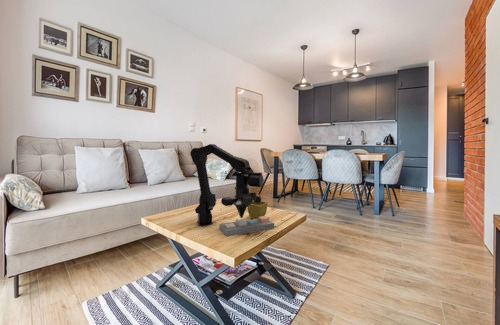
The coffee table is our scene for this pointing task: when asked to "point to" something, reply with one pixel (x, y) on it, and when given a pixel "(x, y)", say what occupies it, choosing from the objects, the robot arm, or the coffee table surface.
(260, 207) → the flower pot
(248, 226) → the keyguard frame
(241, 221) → the key
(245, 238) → the coffee table surface
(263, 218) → the key
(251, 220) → the key
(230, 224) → the key
